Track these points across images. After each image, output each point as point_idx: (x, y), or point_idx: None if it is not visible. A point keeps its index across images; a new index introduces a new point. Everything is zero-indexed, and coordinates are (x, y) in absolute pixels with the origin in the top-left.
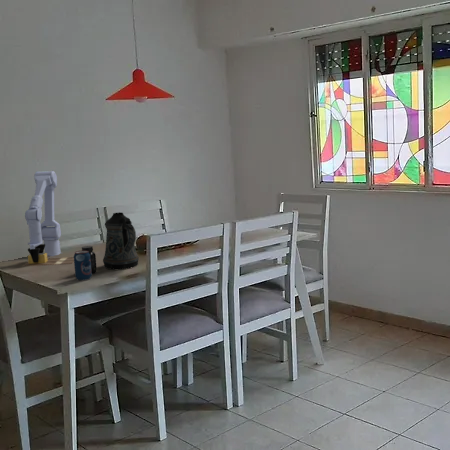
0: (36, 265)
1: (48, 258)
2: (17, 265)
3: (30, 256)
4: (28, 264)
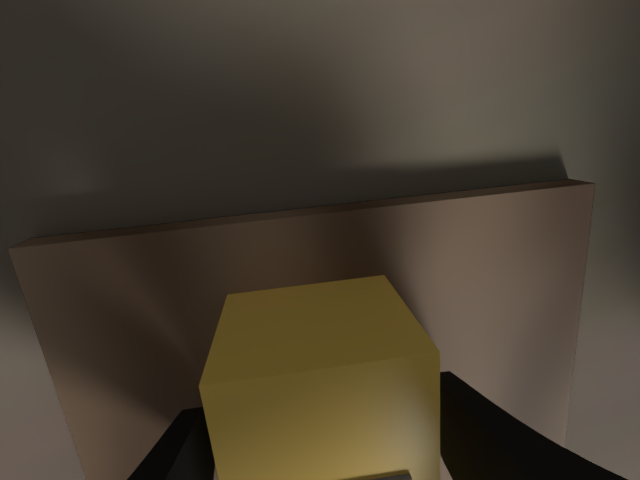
0: (92, 470)
1: (557, 433)
2: (278, 51)
3: (216, 423)
4: (167, 317)
